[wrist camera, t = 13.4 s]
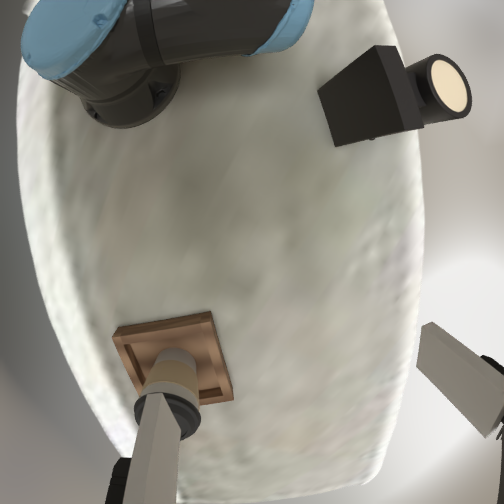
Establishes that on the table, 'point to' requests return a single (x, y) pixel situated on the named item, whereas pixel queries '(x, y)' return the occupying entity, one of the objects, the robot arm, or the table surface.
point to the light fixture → (392, 95)
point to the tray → (177, 336)
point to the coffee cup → (174, 388)
